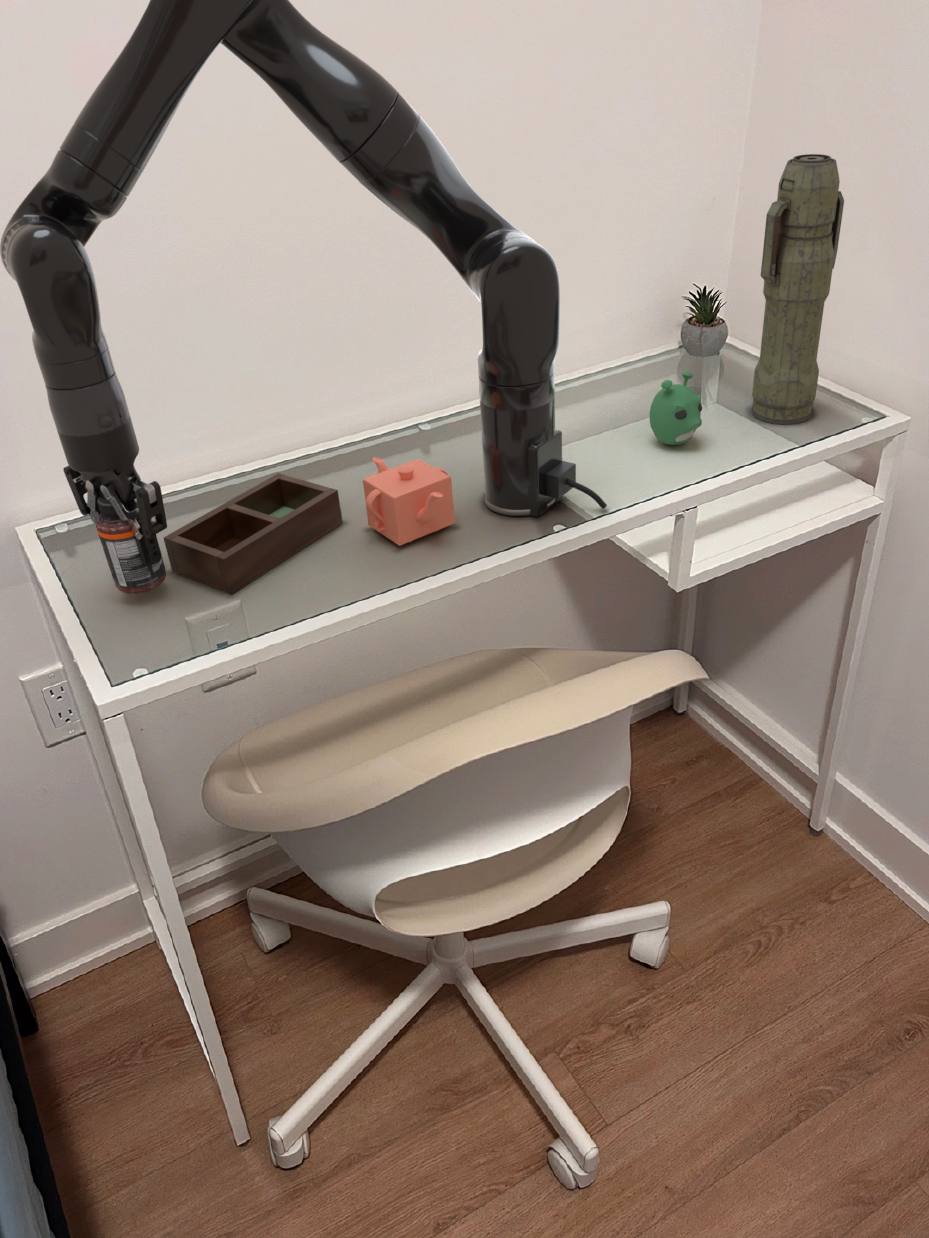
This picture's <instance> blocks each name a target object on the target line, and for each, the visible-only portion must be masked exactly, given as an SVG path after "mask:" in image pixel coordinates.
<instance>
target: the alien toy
mask: <svg viewBox="0 0 929 1238" xmlns="http://www.w3.org/2000/svg"><path fill="white" fill-rule="evenodd" d="M681 376H682V377H683V379H684V380H683V383H682V384H679V383H678V384H673V383H674V382H673V381H672V380H670V379H666V380H663V381H662V382H661V384H660V387H661V389H660V390H659V391H658V392H657V393H656V394H655V396H654V397H653V400H652V401H651V404H650V409H649V425H650V428H651V430H652V433H653V435H654V436H655V438H656V439H658V440H659V441H660V442H661V443H662V444H664V445H668V446H679V445H683V444H685V443H687V442H689V440H691V438H693V435H694V433H695V432H696V430H697V429H698V428H700V427H701V426H702V424H703V420H702V417H701V414H702V413H701V412H702V410H703V405H702V403H701V402H702V395H701V394H696V393H695V392H694V390H692V389H691V388H690V386H689V387H688V385H687V384H688V382H689V379H692V378H693V377H694V374H693V373H692V372H690V371H687V370H686V371H683V372H682V373H681Z"/></svg>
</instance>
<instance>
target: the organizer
mask: <svg viewBox="0 0 929 1238" xmlns="http://www.w3.org/2000/svg"><path fill="white" fill-rule="evenodd" d="M340 502H341V501H340V496H339V489H336V488H333V487H328V486H326V485H322V484H318V483H315V482H311V481H307V480H304V479H301V478H297V477H293V476H290V475H288V474H287V475H286V474H284V473H280V472H278V473H276V474H274V475H272V476H271V477H269V478H267V479H265V480H263V481H262V482H260V483H258V484H257V485H254V486H253V487H251V488H249V489H248V490H245V491H244V492H242V493H240V494H239V495H237V496H235V497H232V498H231V499H229V500H228V501H226V502H223V503H222V504H220V505H219V506H216V507H214V509H212V510H210V511H208V512H206V513H205V514H203V515H201V516H199V517H197V518H195V519H194V520H192V521H190V522H188V523H187V524H185V525H183V526H181V527H180V528H178V529H176V530H174V531H173V532H171V533H168V534H167V535H164V536H163V537H162V538H163V542H164V546H165V550H166V553H167V557H168V561H169V565H170V569H171V572H172V573H173V574H177V575H180V576H182V577H185V578H187V579H189V580H193V581H194V582H195V581H196V582H198V583H200V584H203V585H205V586H208V587H210V588H213V589H215V590H219V591H221V592H223V593H226V594H229V595H234V594H235V593H238V591H240V590H241V589H244V588H245V587H246V586H248V585H249V584H252V583H253V582H254V581H256V580H257V579H258V578H260V577H262V576H263V575H265V574H266V573H268V572H269V571H271V570H273V569H274V568H276V567H277V566H279V565H281V564H282V563H283V562H285V561H286V560H288V559H289V558H291V557H293V556H294V555H296V554H297V553H299V552H301V551H302V550H304V549H305V548H307V547H308V546H310V545H311V544H313V543H314V542H316V541H318V540H319V539H321V538H322V537H324V536H326V535H327V534H329V533H330V532H332V531H334V530H335V529H336V528H338V527H339V526H341V525H342V524H343V523H344V522H343V516H342V515H343V514H342V509H341V503H340Z"/></svg>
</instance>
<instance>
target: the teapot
mask: <svg viewBox="0 0 929 1238" xmlns="http://www.w3.org/2000/svg"><path fill="white" fill-rule="evenodd" d="M372 461H373V462H374V464H375V466H376V468H377V471H378V473H375V474H372V475H370V476H367V477H364V478H363V479H362V485H363V493H364V503H365V508H366V517H367V521H368V523H367V524H368V526H369V527H370V528H371V529H374V530H375V531H376V532H378V533H380V534H381V535H382V536H384V537H386V538H387V539H388V540H390V541H392V543H394V544H396V545H398V546H399V547H400V546H402V545H405V544H407V543H412V542H414V541H415V540H417V539H420V538H422V537H425V536H428V535H429V534H432V533H436V532H438V531H440V530H442V529H444V528H446V527H449V526H451V525H454V524H456V522H455V521H456V520H455V508H454V497H453V496H454V495H453V482H452V476H450V475H449V473H448V472H447V471H446V470H445V469H444V468H442V467H440V466H435V467H434V466H432V465H431V464H428V463H427V462H425V461H423V460H421V459H420V458H417V459H414V460H411V461H408V462H406V463H403V464H399V465H397V466H394V467H392V468H388V465H386V463H385V461H384V460H383V459H381V458H380V457H378V456H375V457H373V458H372Z"/></svg>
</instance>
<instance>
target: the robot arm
mask: <svg viewBox="0 0 929 1238" xmlns="http://www.w3.org/2000/svg"><path fill="white" fill-rule="evenodd" d="M131 34H132V35H131V36H130V38H129V40H128V41H127V43H126V44H125V45H124V47H123V49H122V50H121V51H120V53H119V55H118V56H117V57H116V59H115V60H114V62H113V63H112V65H111V66H110V68H109V69H108V71H107V72H106V73H105V75H104V76H103V78H102V79H101V80H100V82H99V83H98V85H97V86H96V87H95V88H94V90H93V91H92V93H91V95H90V97H89V98H88V100H87V101H86V103H85V104H84V106H83V108H82V109H81V111H80V112H79V114H78V115H77V117H76V118H75V120H74V122H73V124H72V126H71V128H70V130H69V131H68V132H67V135H66V136H65V138H64V139H63V142H62V143H61V144H60V147H59V149H58V150H57V152H56V154H55V156H54V158H53V159H52V162H51V164H50V166H49V168H48V169H47V171H46V172H45V173H44V175H43V176H42V177H41V178H40V179H39V180H38V181H37V182H36V184H35V185H34V186H33V188H32V189H31V190H30V191H29V193H28V194H27V195H26V197H24V199H23V200H22V201H21V203H20V204H19V205H18V207H17V208H16V210H15V211H14V213H13V214H12V215H11V217H10V219H9V220H8V222H7V224H6V226H5V228H4V230H3V232H2V235H1V239H0V259H1V263H2V265H3V267H4V269H5V271H6V272H7V273H8V275H9V276H10V277H11V278H12V279H13V280H14V281H15V282H16V284H17V286H18V289H19V291H20V294H21V297H22V300H23V303H24V305H25V308H26V312H27V315H28V317H29V322H30V323H31V327H32V330H33V331H32V337H31V339H32V346H33V351H34V354H35V359H36V361H37V363H38V366H39V370H40V373H41V375H42V379H43V383H44V386H45V390H46V395H47V402H48V407H49V411H50V413H51V416H52V419H53V422H54V425H55V429H56V433H57V435H58V438H59V441H60V444H61V447H62V450H63V453H64V456H65V459H66V462H67V466H64V467H63V473H64V477H65V479H66V481H67V483H68V486H69V489H70V491H71V493H72V495H73V498H74V500H75V503H76V505H77V508H78V510H79V513H80V514H81V515H82V516H84V517H86V516H90V520H91V522H92V523H93V524H94V525H96V520H97V517H98V515H99V514H100V513H101V512H100V510H99V506H98V502H97V500H98V498H99V497H101V498H103V499H106V500H109V501H110V502H111V504H112V506H113V508H114V509H115V511H116V513H117V514H118V516H119V518H120V520H121V521H123V522H127V523H128V525H129V527H130V529H131V530H132V532H133V534H134V536H135V537H136V538H135V540H136V544H137V547H138V550H139V554H140V557H141V560H142V564H143V565H145V566H148V567H150V566H152V565H154V564H156V563H157V562H159V561H160V560H161V558H163V555H162V550H161V547H160V544H159V540H158V537H157V535H158V534H159V533H161V532H162V531H164V530H166V529H167V528H168V522H167V517H166V510H165V506H164V499H163V493H162V488H161V485H160V483H159V482H158V481H156V480H154V481H151V482H149V483H147V482H144V481H142V479H141V476H140V475H139V473H138V472H137V469H136V467H135V461H136V458H137V457H138V455H139V453H140V446H139V443H138V439H137V435H136V431H135V427H134V425H133V421H132V417H131V414H130V410H129V407H128V404H127V400H126V396H125V393H124V389H123V387H122V384H121V382H120V381H119V378H118V375H117V373H116V369H115V365H114V361H113V359H112V354H111V351H110V348H109V344H108V341H107V338H106V335H105V333H104V330H103V327H102V326H103V325H102V320H101V319H102V318H101V309H100V303H99V295H98V290H97V284H96V279H95V274H94V271H93V267H92V264H91V263H92V262H91V261H90V258H89V255H88V253H87V250H86V248H85V247H86V245H87V244H88V242H89V240H90V239H91V237H93V234H94V233H95V232H96V230H97V229H98V227H99V226H100V224H101V223H102V222H104V221H106V220H109V219H111V218H114V216H116V215H117V214H118V213H119V212H120V210H121V209H122V208H123V206H124V205H125V203H126V201H127V199H128V197H129V196H130V194H131V192H132V191H133V189H134V187H135V186H136V184H137V182H138V181H139V179H140V177H141V175H142V173H143V172H144V171H145V169H146V167H147V165H148V164H149V162H150V160H151V159H152V156H153V155H154V153H155V151H156V149H157V147H158V145H159V144H160V142H161V140H162V138H163V136H164V134H165V132H166V131H167V129H168V128H169V125H170V123H171V122H172V120H173V118H174V115H175V114H176V112H177V110H178V108H179V106H180V105H181V103H182V101H183V100H184V97H185V96H186V94H187V93H188V91H189V89H190V87H191V86H192V85H193V83H194V81H195V80H196V78H197V76H198V75H199V73H200V72H201V71H202V69H203V68H204V66H205V64H206V63H207V61H208V60H209V59H210V57H211V56H213V53H214V52H215V51H216V49H217V48H218V47H219V45H220V44H221V45H222V46H223V47H225V48H226V49H227V51H229V52H230V53H232V54H233V55H234V56H235V57H236V58H238V59H239V60H240V61H241V62H242V63H244V65H246V66H247V67H248V68H250V70H252V71H253V72H254V73H255V74H256V75H257V76H259V78H260V79H261V80H262V81H264V83H265V84H267V85H268V87H269V88H270V89H271V90H272V92H274V93H275V95H277V97H278V98H279V99H280V100H281V101H282V102H283V103H284V105H285V106H286V107H287V108H288V109H289V110H290V112H291V113H292V114H293V115H294V116H295V118H297V119H298V120H299V121H300V123H301V124H302V125H303V126H304V127H305V128H306V130H308V131H309V132H310V133H311V135H312V136H313V137H314V138H315V139H316V140H317V141H318V142H319V143H320V144H321V145H322V146H323V147H324V149H326V150H327V152H328V153H329V154H330V155H331V156H332V157H333V158H334V159H335V160H336V161H337V162H338V164H340V166H342V167H343V168H344V169H345V171H347V172H348V174H350V175H351V176H352V177H353V178H354V179H355V180H356V181H357V182H358V183H359V184H360V185H361V186H363V188H364V189H365V190H367V191H368V192H369V193H370V194H371V195H372V196H373V197H375V198H376V199H377V200H378V201H379V202H381V204H383V206H385V207H387V208H388V209H389V210H391V212H393V213H394V214H396V215H397V216H398V217H400V218H401V219H403V220H404V221H405V222H407V223H409V224H410V225H411V226H412V227H414V228H415V229H417V230H418V231H419V232H420V233H421V234H423V235H424V236H425V237H426V238H427V239H428V240H429V241H430V242H431V243H432V244H433V245H434V246H435V247H436V249H437V250H438V251H439V252H440V253H441V255H442V256H444V258H445V259H446V260H447V262H449V264H450V265H451V266H452V267H453V269H454V270H455V271H456V272H457V274H458V275H459V276H460V278H461V279H462V280H463V281H464V283H465V284H466V286H467V287H468V288H469V290H470V292H471V293H472V295H473V296H474V298H476V300H477V301H478V302H479V303H480V306H481V307H480V308H481V326H482V327H481V329H482V330H481V331H482V347H481V349H480V350H479V352H478V353H477V376H478V391H479V393H478V394H479V409H480V410H479V411H480V427H481V447H482V459H483V460H482V462H483V464H482V465H483V479H484V481H483V482H484V503H485V505H486V507H487V508H488V509H489V510H491V511H493V512H495V513H497V514H500V515H505V516H510V517H511V516H513V517H514V516H515V517H524V516H525V517H526V516H532V517H537V518H539V517H541V516H542V515H543V514H544V513H546V512H547V511H548V510H549V509H550V508H552V507H554V505H555V504H557V503H558V502H559V501H561V500H562V499H563V496H565V495H566V494H567V493H568V492H570V491H571V490H572V489H575V490H578V491H580V492H581V493H584V494H585V495H587V496H589V497H590V498H591V499H593V500H594V502H596V503H597V504H598V506H599V507H600V508H601V509H602V510H605V509H606V508H607V506H608V504H607V503H606V501H604V500H603V498H602V497H601V496H600V495H599V494H597V493H596V492H595V491H594V490H592V489H591V488H589V487H587V486H585V485H584V484H581V483H579V482H577V481H576V480H577V464H576V463H574V462H570V461H565V460H563V432H562V430H561V429H558V428H556V408H555V407H556V401H555V400H556V399H555V398H556V397H555V395H556V392H555V389H556V388H555V360H556V356H557V354H558V351H559V346H560V325H561V324H560V321H561V283H560V275H559V274H560V273H559V270H558V266H557V263H556V260H555V259H554V257H553V256H552V255H551V254H550V252H549V251H548V250H547V249H546V248H545V247H543V246H542V245H541V244H539V242H537V241H535V239H533V238H532V237H530V236H529V235H527V234H526V233H525V232H523V231H522V230H520V229H519V228H517V227H516V226H514V225H513V224H512V223H511V222H509V221H508V220H507V219H506V217H504V216H503V215H502V214H500V213H499V212H498V211H497V210H496V209H494V208H493V207H492V205H490V204H489V203H488V202H487V201H486V200H485V199H483V198H482V197H481V195H479V193H477V192H476V191H475V190H474V188H473V187H472V186H471V185H470V183H469V181H467V179H466V178H465V176H464V175H463V174H462V172H461V171H460V169H459V168H458V166H457V164H456V162H454V160H453V158H452V156H451V155H450V153H449V151H448V150H447V149H446V147H445V146H444V145H443V143H442V142H441V140H440V138H438V136H437V134H435V132H434V131H433V129H432V128H431V127H430V126H429V124H428V123H427V122H426V121H425V120H424V118H423V117H422V116H421V115H420V114H419V113H418V112H417V111H416V110H415V109H414V107H413V106H412V105H411V104H410V103H409V102H408V101H407V100H406V98H404V96H403V95H401V93H400V92H399V91H398V90H397V88H395V87H394V86H393V85H392V84H391V83H390V82H389V81H388V80H387V79H386V78H385V77H384V76H383V75H382V74H380V73H379V72H378V71H377V70H376V69H374V68H373V67H372V66H370V64H368V63H366V62H365V61H364V60H362V59H361V58H360V57H359V56H357V55H356V54H354V53H353V52H351V51H350V50H348V49H346V48H345V47H343V46H342V45H341V44H339V43H338V42H336V41H335V40H333V39H332V38H330V37H329V36H327V35H326V34H325V33H323V32H322V31H320V30H319V28H317V27H316V26H315V25H314V24H312V23H311V22H310V21H309V20H308V19H307V18H306V17H305V16H303V14H302V13H301V12H300V11H299V10H298V9H297V8H296V6H294V5H293V3H292V2H291V1H290V0H149V1H148V4H147V6H146V9H145V10H144V12H143V14H142V16H141V18H140V20H139V22H138V24H137V26H136V28H134V31H133V33H131ZM85 494H87V495H86V499H85ZM135 502H136V503H137V505H138V507H137V508H135V509H133V510H131V511H130V512H129V511H127V510H126V509H125V508H127V507H129V506H131V505H133V504H134V503H135ZM138 515H139V516H140V521H141V526H139V524H138V522H137V521H136V516H138ZM154 518H155V519H154ZM161 555H162V556H161Z"/></svg>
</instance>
